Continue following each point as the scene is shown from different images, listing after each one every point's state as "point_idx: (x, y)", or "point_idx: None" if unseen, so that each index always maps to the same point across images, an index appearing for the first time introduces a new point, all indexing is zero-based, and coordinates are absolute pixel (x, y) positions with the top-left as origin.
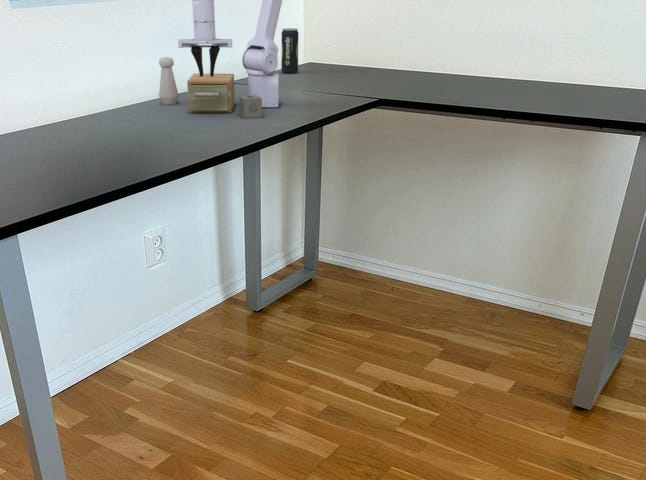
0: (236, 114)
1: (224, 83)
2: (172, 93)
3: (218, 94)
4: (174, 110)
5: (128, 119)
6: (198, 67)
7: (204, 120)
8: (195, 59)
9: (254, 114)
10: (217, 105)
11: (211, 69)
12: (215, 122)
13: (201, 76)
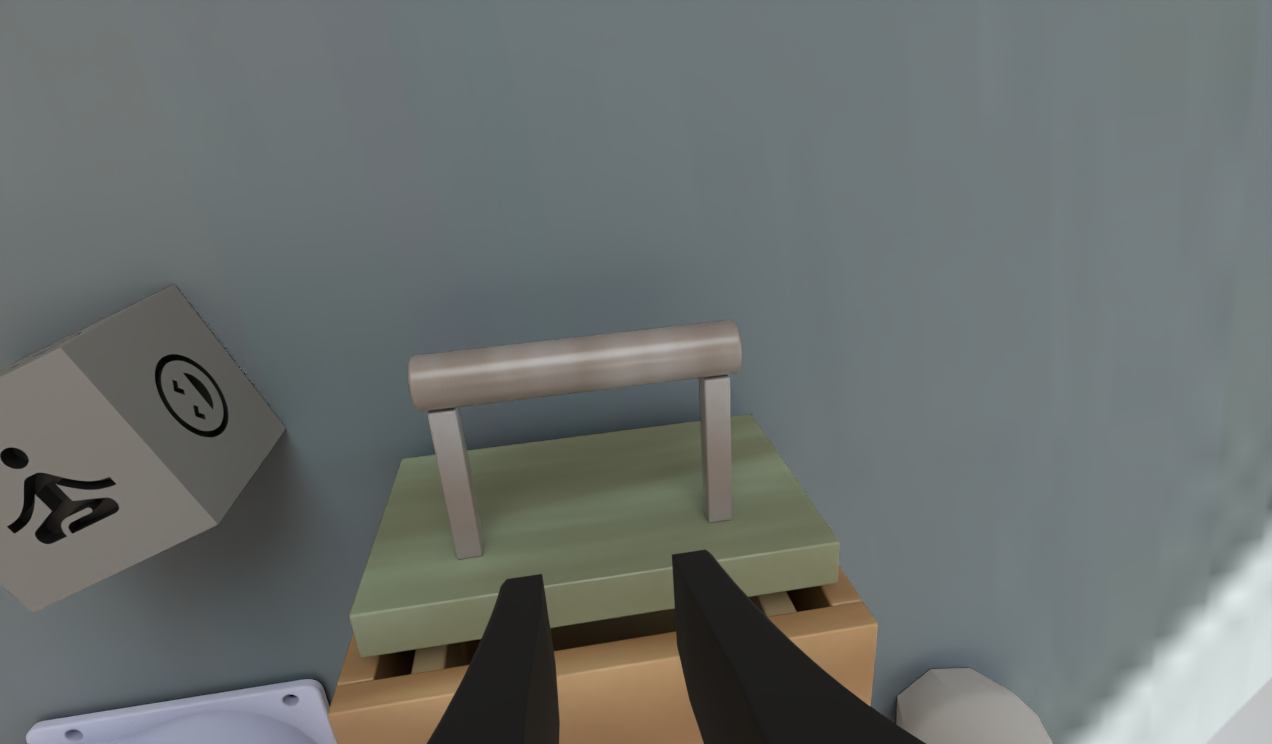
0: (325, 440)
1: (408, 678)
2: (954, 737)
3: (414, 360)
4: (887, 512)
5: (1245, 132)
6: (768, 623)
7: (564, 144)
8: (886, 719)
9: (66, 338)
10: (501, 467)
11: (511, 639)
12: (424, 49)
13: (687, 552)
